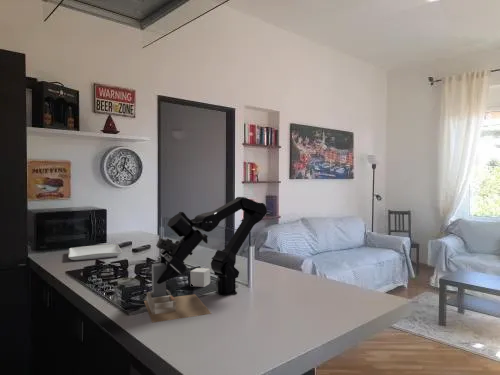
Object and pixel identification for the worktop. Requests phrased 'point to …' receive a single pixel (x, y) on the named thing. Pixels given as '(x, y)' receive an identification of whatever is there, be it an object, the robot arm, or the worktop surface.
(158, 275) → the tall gray block
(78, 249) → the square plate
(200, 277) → the white cube
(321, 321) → the worktop surface
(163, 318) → the cord organiser
